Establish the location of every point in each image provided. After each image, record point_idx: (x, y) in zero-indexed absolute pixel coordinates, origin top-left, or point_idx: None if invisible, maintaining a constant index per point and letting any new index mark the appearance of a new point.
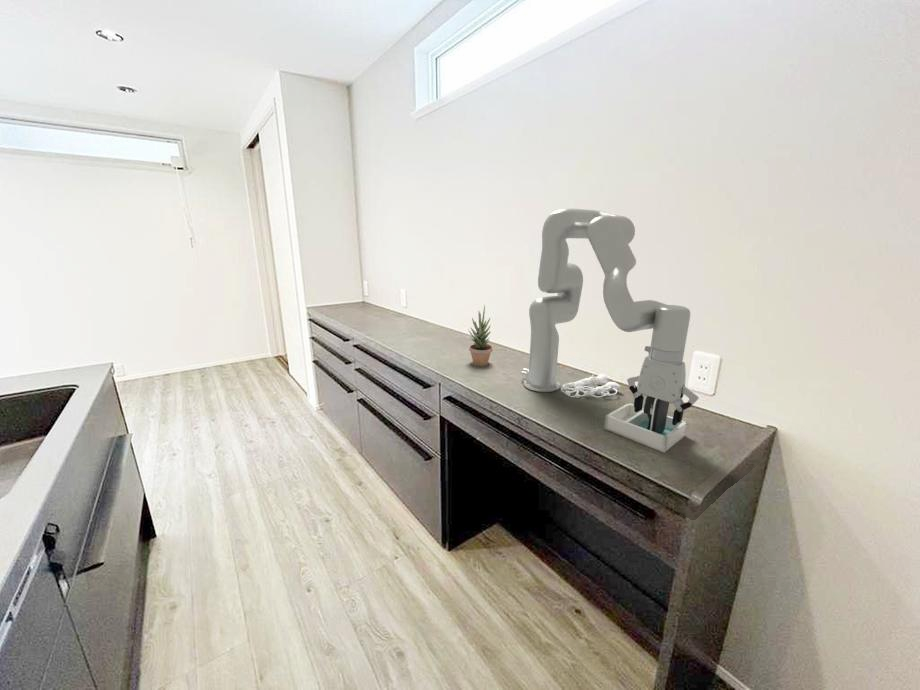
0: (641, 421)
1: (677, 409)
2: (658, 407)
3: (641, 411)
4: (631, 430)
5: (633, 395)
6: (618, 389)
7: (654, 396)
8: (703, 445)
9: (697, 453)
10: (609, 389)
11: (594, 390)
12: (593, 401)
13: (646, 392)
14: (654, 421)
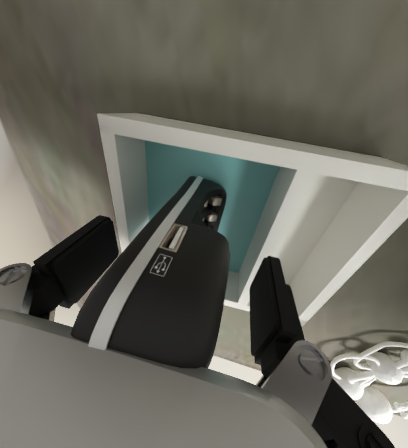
0: (246, 258)
1: (25, 273)
2: (117, 261)
3: None
4: (266, 140)
5: (326, 361)
6: None
7: (109, 372)
8: None
9: (87, 179)
10: (352, 374)
11: (402, 367)
12: (401, 324)
13: (205, 435)
14: (169, 202)
